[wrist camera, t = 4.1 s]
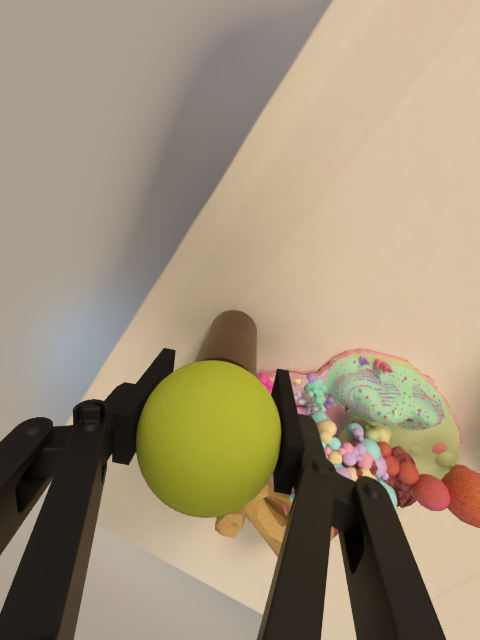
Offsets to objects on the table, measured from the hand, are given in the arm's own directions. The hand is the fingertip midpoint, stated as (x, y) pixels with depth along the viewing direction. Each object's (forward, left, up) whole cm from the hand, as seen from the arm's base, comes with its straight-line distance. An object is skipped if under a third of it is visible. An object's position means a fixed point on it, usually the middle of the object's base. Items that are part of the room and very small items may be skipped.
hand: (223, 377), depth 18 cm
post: (0, 0, -9) cm, 9 cm away
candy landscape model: (+11, +12, -9) cm, 19 cm away
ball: (0, 0, +5) cm, 5 cm away
